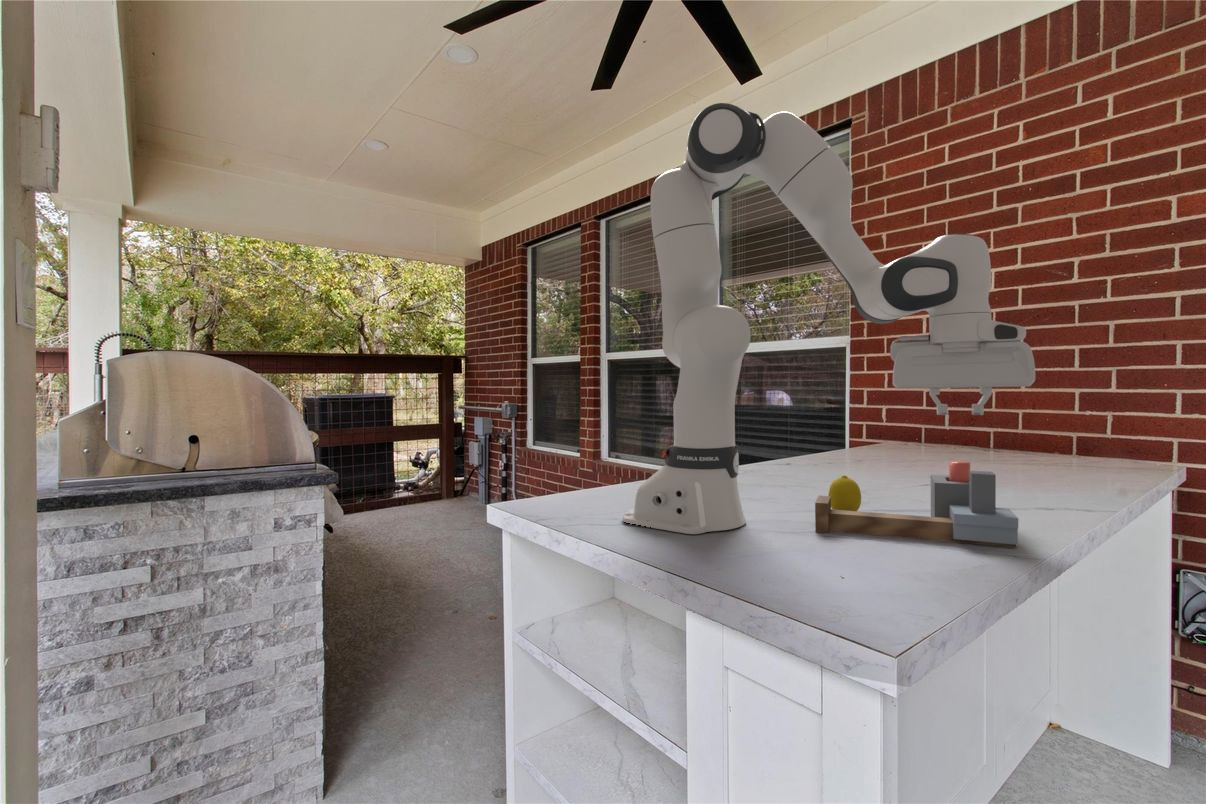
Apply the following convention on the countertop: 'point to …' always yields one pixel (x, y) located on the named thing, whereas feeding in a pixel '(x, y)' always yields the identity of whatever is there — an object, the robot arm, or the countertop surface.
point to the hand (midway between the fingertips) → (959, 414)
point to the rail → (886, 524)
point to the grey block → (947, 495)
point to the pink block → (959, 471)
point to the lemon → (845, 494)
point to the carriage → (983, 513)
